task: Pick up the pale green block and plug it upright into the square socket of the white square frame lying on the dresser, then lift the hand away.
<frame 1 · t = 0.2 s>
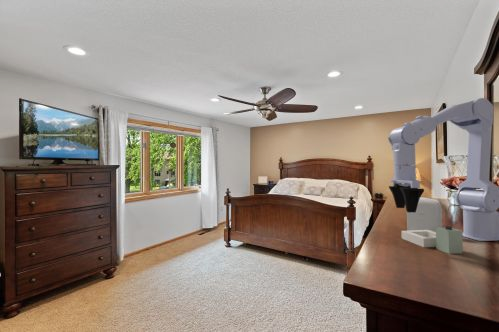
hand: (405, 209, 75), 10 cm above the dresser, tool pointing down, fingers open, 7 cm apart
pale green block: (449, 250, 67), on the dresser
white square frame: (425, 242, 75), on the dresser
photo printer: (424, 233, 86), on the dresser
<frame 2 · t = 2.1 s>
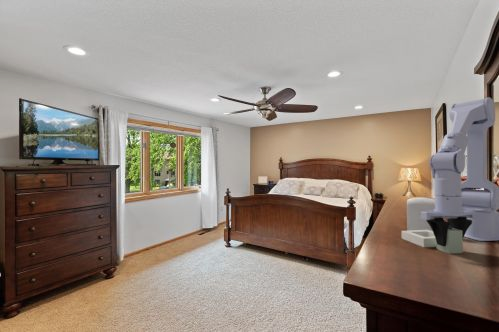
hand: (449, 244, 67), 2 cm above the dresser, tool pointing down, fingers closed on pale green block, 4 cm apart
pale green block: (449, 250, 67), on the dresser, touching gripper
everything else where it was.
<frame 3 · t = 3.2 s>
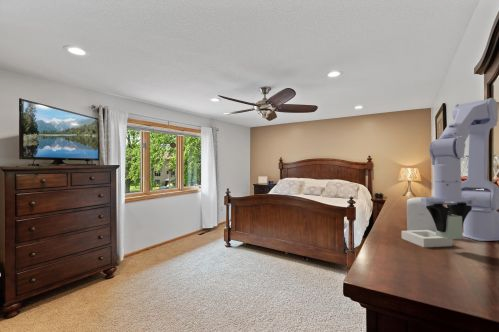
hand: (448, 231, 67), 5 cm above the dresser, tool pointing down, fingers closed on pale green block, 4 cm apart
pale green block: (448, 236, 67), point 4 cm above the dresser, touching gripper
everything else where it was.
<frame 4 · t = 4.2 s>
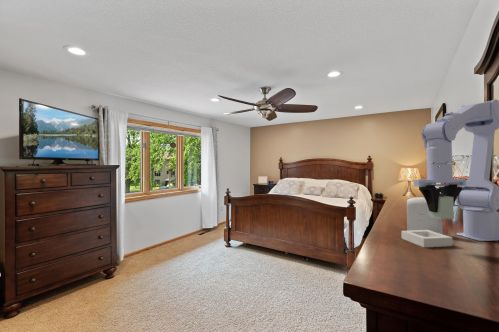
hand: (440, 211, 70), 10 cm above the dresser, tool pointing down, fingers closed on pale green block, 4 cm apart
pale green block: (441, 217, 69), point 9 cm above the dresser, touching gripper
everything else where it was.
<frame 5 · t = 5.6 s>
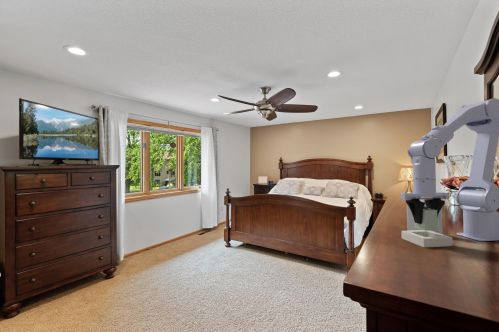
hand: (425, 223, 75), 6 cm above the dresser, tool pointing down, fingers closed on pale green block, 4 cm apart
pale green block: (425, 228, 75), point 4 cm above the dresser, touching gripper
everything else where it was.
when the fingers open (3 cm above the dresser, at t = 6.6 s): pale green block drops 2 cm, resting in white square frame.
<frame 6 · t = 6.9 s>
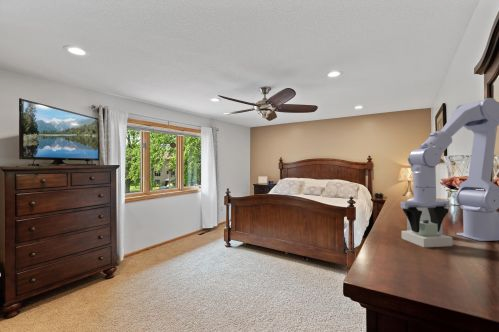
hand: (425, 231, 75), 3 cm above the dresser, tool pointing down, fingers open, 6 cm apart
pale green block: (426, 242, 75), resting in white square frame
everything else where it was.
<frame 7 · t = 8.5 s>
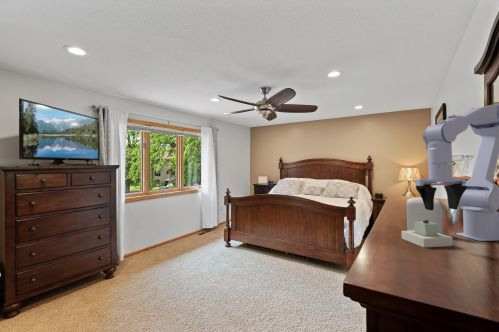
hand: (441, 209, 73), 10 cm above the dresser, tool pointing down, fingers open, 7 cm apart
nothing on the dresser moved.
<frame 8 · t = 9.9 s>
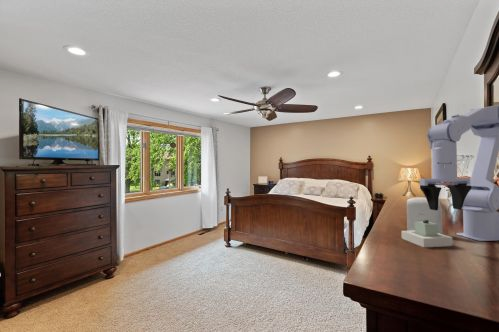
hand: (445, 209, 72), 10 cm above the dresser, tool pointing down, fingers open, 7 cm apart
nothing on the dresser moved.
at the end: pale green block 0.2 cm off-centre on the white square frame, point 0.0 cm above the white square frame's base; pale green block tilted 0°; the gripper is holding nothing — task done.
